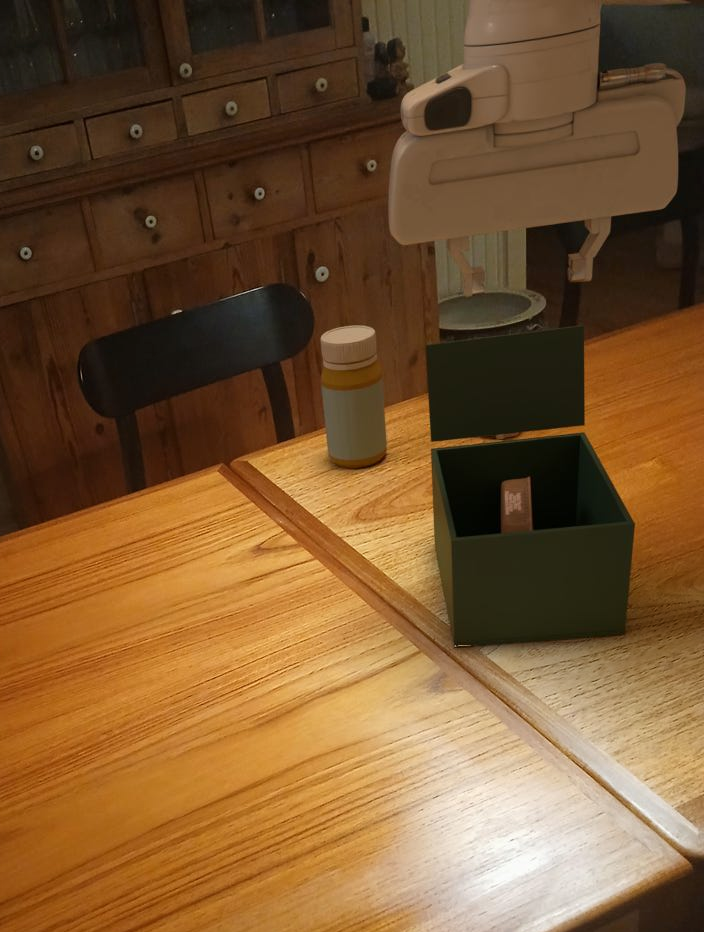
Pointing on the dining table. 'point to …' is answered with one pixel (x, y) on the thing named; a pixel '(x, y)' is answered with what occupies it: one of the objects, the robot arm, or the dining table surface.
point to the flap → (506, 384)
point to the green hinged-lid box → (531, 543)
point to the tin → (516, 506)
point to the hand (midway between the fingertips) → (526, 287)
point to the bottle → (353, 397)
